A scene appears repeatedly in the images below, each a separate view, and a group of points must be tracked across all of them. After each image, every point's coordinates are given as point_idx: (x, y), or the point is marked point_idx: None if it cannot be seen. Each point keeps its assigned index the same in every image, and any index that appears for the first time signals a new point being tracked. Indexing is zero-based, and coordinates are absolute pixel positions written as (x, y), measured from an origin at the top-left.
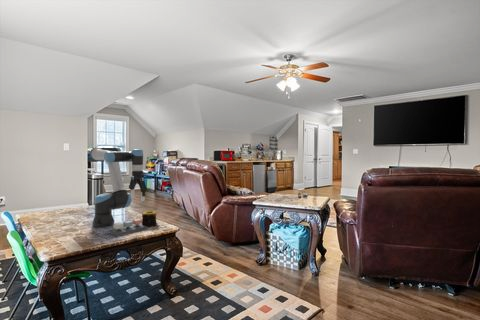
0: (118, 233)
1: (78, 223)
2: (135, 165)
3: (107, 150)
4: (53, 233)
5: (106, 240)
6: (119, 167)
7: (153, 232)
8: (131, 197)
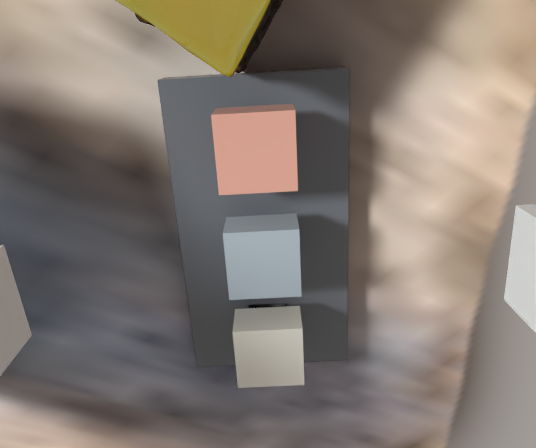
0: (346, 346)
1: None
2: None
3: None
4: None
5: (374, 418)
6: None
7: (504, 79)
8: (12, 347)
